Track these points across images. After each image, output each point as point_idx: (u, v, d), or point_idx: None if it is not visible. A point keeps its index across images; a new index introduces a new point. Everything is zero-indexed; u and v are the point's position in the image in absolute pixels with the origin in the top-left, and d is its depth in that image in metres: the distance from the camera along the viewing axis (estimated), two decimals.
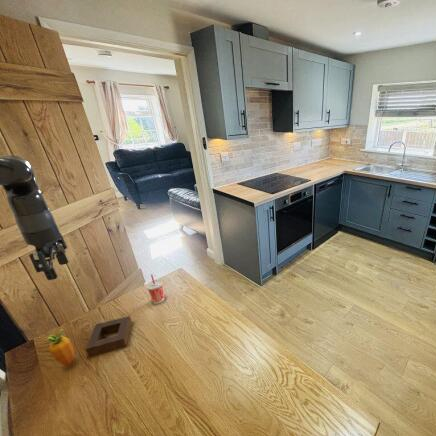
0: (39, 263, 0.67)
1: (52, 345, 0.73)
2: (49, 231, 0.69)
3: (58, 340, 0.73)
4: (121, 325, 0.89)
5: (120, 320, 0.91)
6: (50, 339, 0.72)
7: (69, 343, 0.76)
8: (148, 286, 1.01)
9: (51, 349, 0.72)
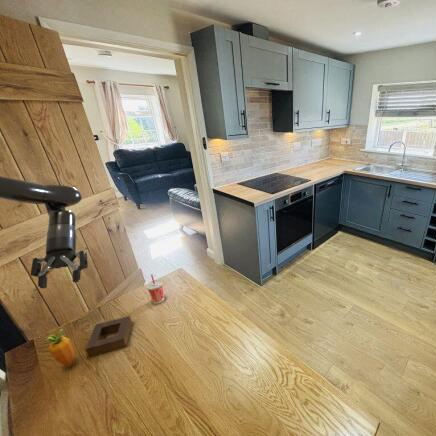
0: (85, 259, 0.84)
1: (52, 345, 0.73)
2: None
3: (58, 340, 0.73)
4: (121, 325, 0.89)
5: (120, 320, 0.91)
6: (50, 339, 0.72)
7: (69, 343, 0.76)
8: (148, 286, 1.01)
9: (51, 349, 0.72)
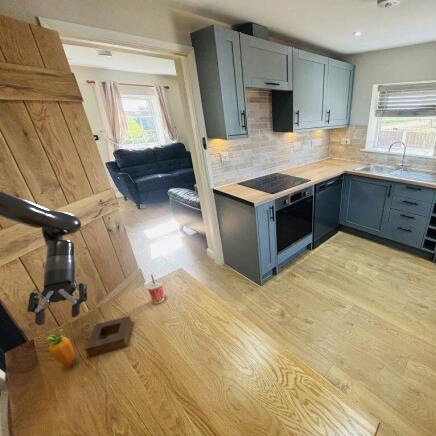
0: (85, 292, 0.80)
1: (52, 345, 0.73)
2: None
3: (58, 340, 0.73)
4: (121, 325, 0.89)
5: (120, 320, 0.91)
6: (50, 339, 0.72)
7: (69, 343, 0.76)
8: (148, 286, 1.01)
9: (51, 349, 0.72)
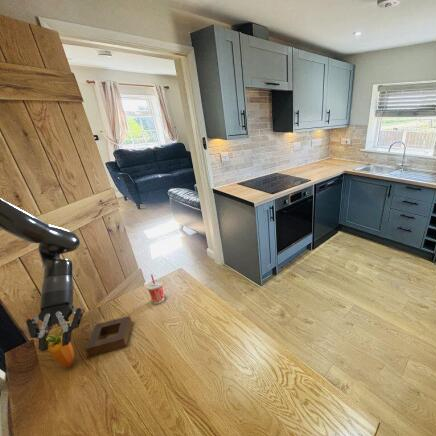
0: (80, 318, 0.77)
1: (51, 345, 0.73)
2: None
3: (57, 340, 0.73)
4: (121, 325, 0.89)
5: (120, 320, 0.91)
6: (49, 339, 0.71)
7: None
8: (148, 286, 1.01)
9: (51, 349, 0.72)
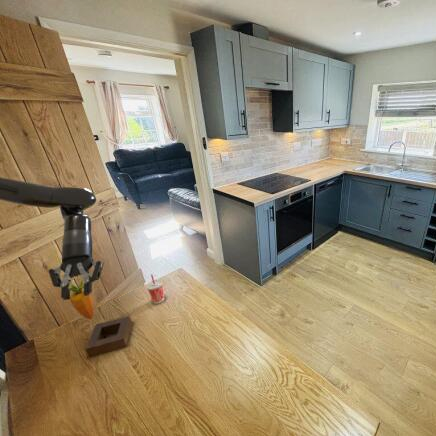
0: (99, 271, 0.78)
1: (73, 295, 0.74)
2: None
3: (79, 290, 0.75)
4: (121, 325, 0.89)
5: (120, 320, 0.91)
6: (71, 288, 0.73)
7: (89, 295, 0.77)
8: (148, 286, 1.01)
9: (73, 298, 0.74)
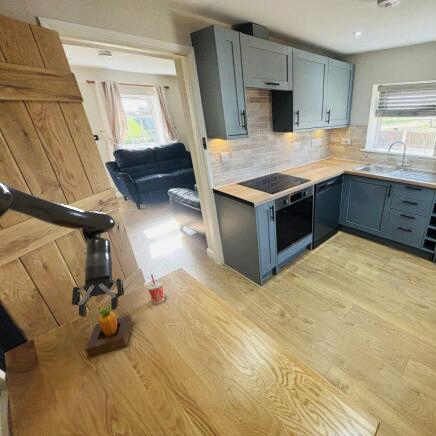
0: (122, 286, 0.86)
1: (102, 317, 0.83)
2: None
3: (107, 313, 0.83)
4: (121, 325, 0.89)
5: (120, 320, 0.91)
6: (101, 311, 0.82)
7: (115, 317, 0.86)
8: (148, 286, 1.01)
9: (101, 320, 0.82)
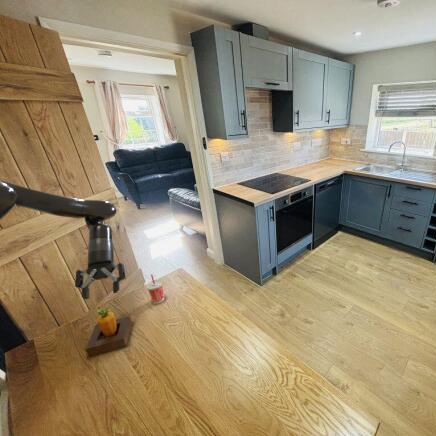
0: (123, 271, 0.89)
1: (100, 318, 0.83)
2: None
3: (105, 314, 0.83)
4: (121, 325, 0.89)
5: (120, 320, 0.91)
6: (99, 312, 0.81)
7: (114, 317, 0.85)
8: (148, 286, 1.01)
9: (100, 321, 0.82)
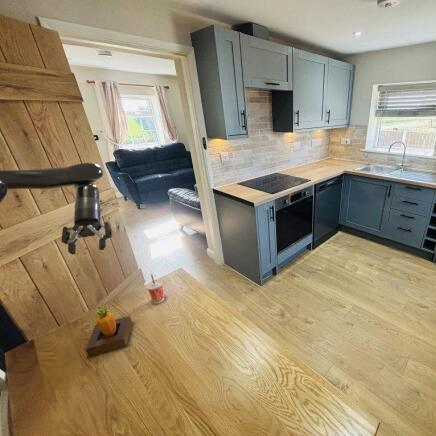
0: (110, 230, 0.91)
1: (99, 318, 0.82)
2: None
3: (104, 314, 0.83)
4: (121, 325, 0.89)
5: (120, 320, 0.91)
6: (98, 312, 0.81)
7: (113, 317, 0.85)
8: (148, 286, 1.01)
9: (99, 321, 0.82)
